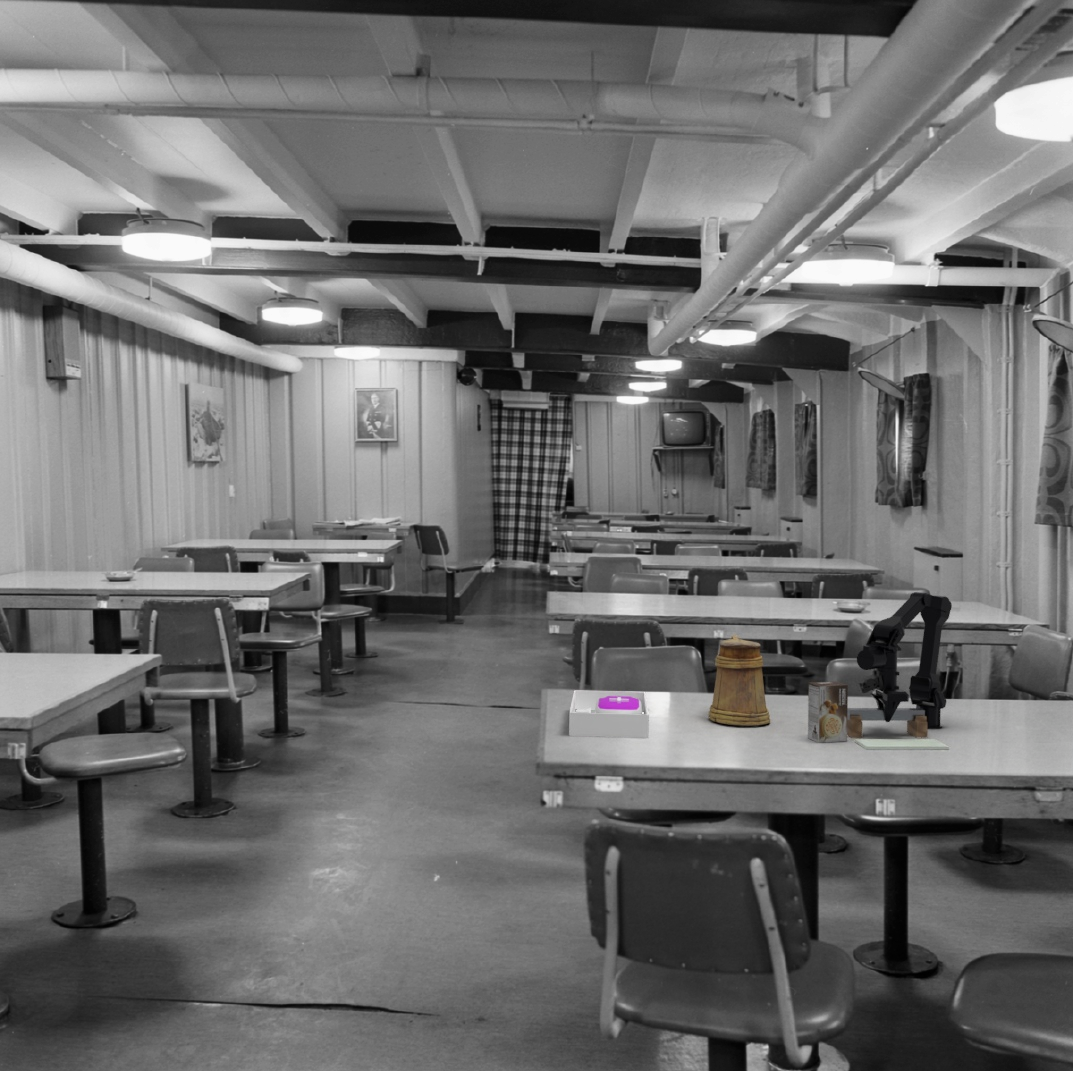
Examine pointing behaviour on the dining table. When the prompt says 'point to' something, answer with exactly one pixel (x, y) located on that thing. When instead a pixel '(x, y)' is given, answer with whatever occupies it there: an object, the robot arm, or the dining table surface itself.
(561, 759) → the dining table surface
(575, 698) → the light grey open box
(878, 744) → the pad
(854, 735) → the post
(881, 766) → the dining table surface
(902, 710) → the rail
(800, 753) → the dining table surface
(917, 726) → the post
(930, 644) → the robot arm
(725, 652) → the tankard
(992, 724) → the dining table surface
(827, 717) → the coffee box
